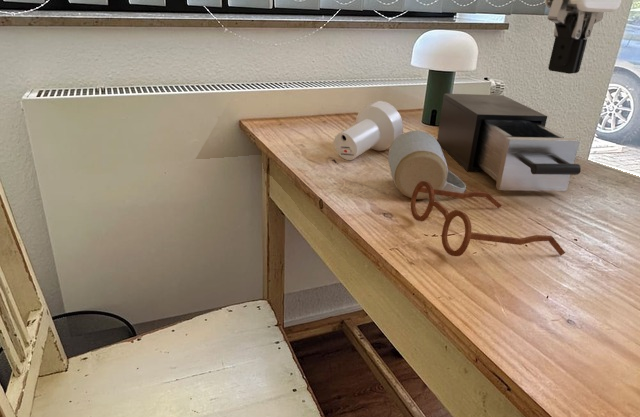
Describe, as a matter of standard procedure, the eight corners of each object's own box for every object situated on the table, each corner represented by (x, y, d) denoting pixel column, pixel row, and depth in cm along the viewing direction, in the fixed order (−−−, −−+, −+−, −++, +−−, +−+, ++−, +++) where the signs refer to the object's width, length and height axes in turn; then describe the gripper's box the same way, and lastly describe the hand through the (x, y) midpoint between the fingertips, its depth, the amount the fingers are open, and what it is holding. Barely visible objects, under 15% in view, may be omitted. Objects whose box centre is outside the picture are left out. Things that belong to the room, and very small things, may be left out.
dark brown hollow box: (534, 172, 78) (547, 116, 75) (467, 171, 77) (477, 114, 73) (493, 143, 92) (503, 95, 89) (436, 142, 91) (443, 93, 87)
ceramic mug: (390, 201, 65) (397, 144, 62) (384, 178, 72) (391, 127, 69) (470, 206, 65) (482, 151, 61) (456, 184, 72) (466, 133, 69)
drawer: (585, 203, 65) (600, 150, 62) (513, 203, 64) (526, 149, 61) (518, 157, 82) (528, 114, 79) (461, 157, 81) (469, 113, 78)
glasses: (406, 213, 61) (411, 175, 59) (499, 207, 64) (506, 171, 62) (457, 267, 50) (465, 223, 48) (566, 257, 53) (578, 215, 51)
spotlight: (408, 145, 84) (401, 99, 81) (369, 172, 77) (358, 123, 74) (371, 142, 90) (363, 99, 86) (331, 168, 83) (320, 122, 79)
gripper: (607, -115, 47) (560, 80, 55) (669, -94, 55) (621, 73, 63) (535, -106, 52) (501, 70, 60) (602, -88, 61) (565, 64, 68)
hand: (563, 71), depth 61 cm, fingers closed
